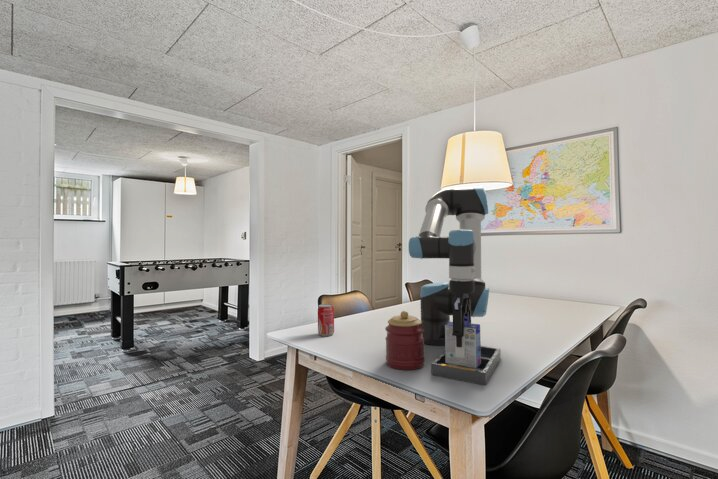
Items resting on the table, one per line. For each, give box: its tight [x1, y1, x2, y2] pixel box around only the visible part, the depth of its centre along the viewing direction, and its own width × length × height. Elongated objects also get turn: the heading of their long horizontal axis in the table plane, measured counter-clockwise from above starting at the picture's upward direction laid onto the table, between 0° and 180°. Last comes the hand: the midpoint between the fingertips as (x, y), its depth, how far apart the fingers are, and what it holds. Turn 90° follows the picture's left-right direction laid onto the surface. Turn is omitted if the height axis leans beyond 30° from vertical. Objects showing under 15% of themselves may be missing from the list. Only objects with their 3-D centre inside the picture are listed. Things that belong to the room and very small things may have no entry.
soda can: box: [317, 303, 335, 337], centre depth 157 cm, size 7×7×13 cm
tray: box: [430, 345, 502, 386], centre depth 116 cm, size 16×25×4 cm, turn 149°
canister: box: [385, 310, 426, 371], centre depth 120 cm, size 13×13×18 cm
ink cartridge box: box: [444, 316, 482, 368], centre depth 111 cm, size 10×6×14 cm, turn 58°
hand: (462, 354), depth 111 cm, fingers closed on ink cartridge box, 5 cm apart
